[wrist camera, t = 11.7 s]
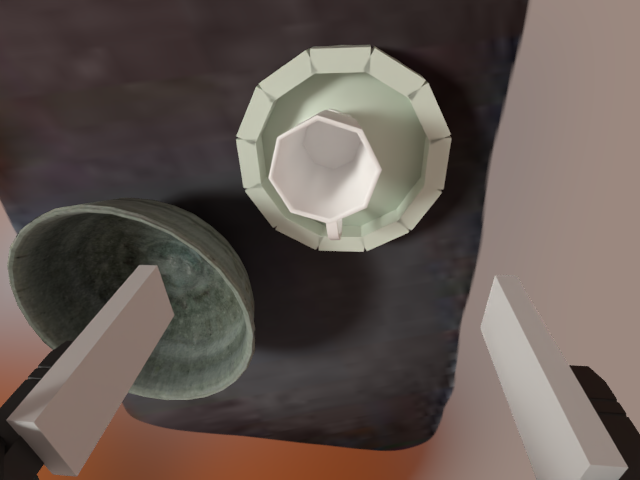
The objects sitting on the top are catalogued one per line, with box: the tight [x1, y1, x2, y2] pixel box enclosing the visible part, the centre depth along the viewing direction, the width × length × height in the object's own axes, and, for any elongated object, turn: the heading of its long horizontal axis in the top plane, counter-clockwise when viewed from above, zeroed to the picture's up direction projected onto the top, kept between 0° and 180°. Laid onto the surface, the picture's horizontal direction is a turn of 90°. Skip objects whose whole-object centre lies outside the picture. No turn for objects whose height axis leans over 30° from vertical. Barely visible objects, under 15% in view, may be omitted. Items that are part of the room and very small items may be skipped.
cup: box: [268, 108, 382, 240], centre depth 26 cm, size 7×10×8 cm
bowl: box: [7, 198, 255, 400], centre depth 34 cm, size 21×21×10 cm
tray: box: [236, 45, 451, 252], centre depth 29 cm, size 16×16×3 cm
